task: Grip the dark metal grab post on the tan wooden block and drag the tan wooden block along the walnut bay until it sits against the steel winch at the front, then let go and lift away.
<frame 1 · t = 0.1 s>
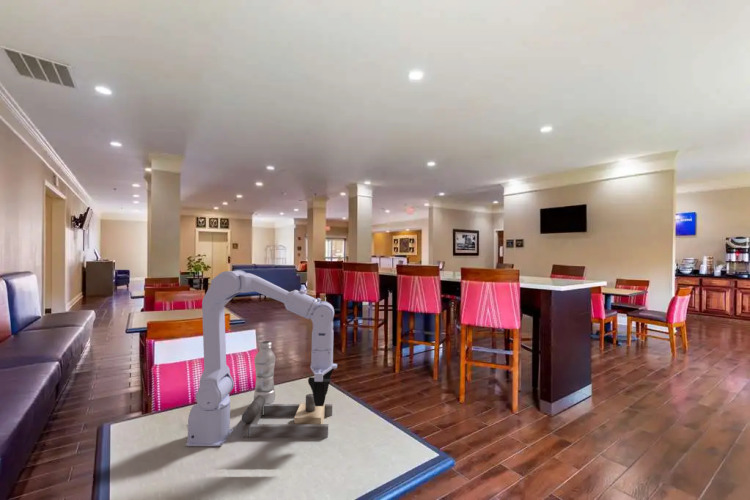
hand: (321, 399, 92), 10 cm above the table, tool pointing down, fingers open, 7 cm apart
bay: (291, 429, 96), on the table
plastic bottle: (264, 405, 112), on the table
tan wooden block: (310, 410, 97), point 5 cm above the table, slide at 11.0 cm
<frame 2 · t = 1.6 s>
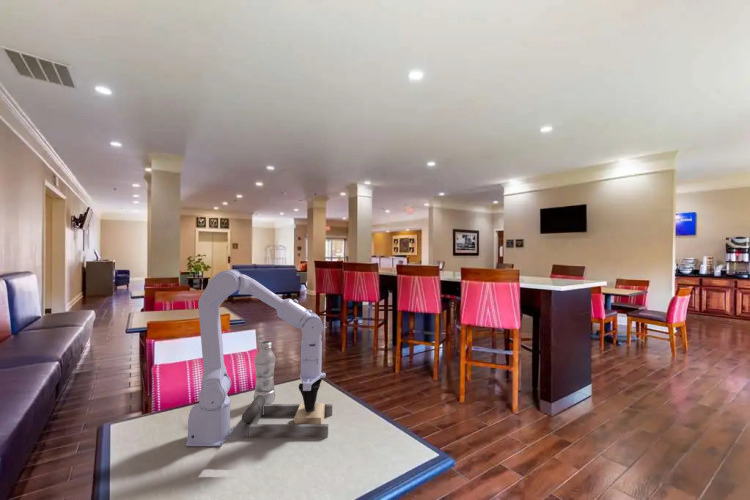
hand: (310, 407, 97), 6 cm above the table, tool pointing down, fingers closed on tan wooden block, 3 cm apart
tan wooden block: (310, 410, 97), point 5 cm above the table, slide at 11.0 cm, touching gripper
everything else where it was.
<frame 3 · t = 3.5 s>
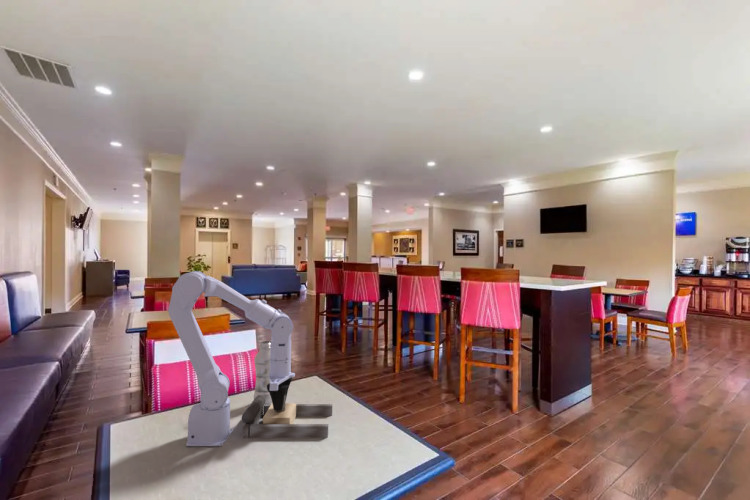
hand: (279, 407, 96), 6 cm above the table, tool pointing down, fingers closed on tan wooden block, 3 cm apart
tan wooden block: (280, 410, 96), point 5 cm above the table, slide at 2.8 cm, touching gripper
everything else where it was.
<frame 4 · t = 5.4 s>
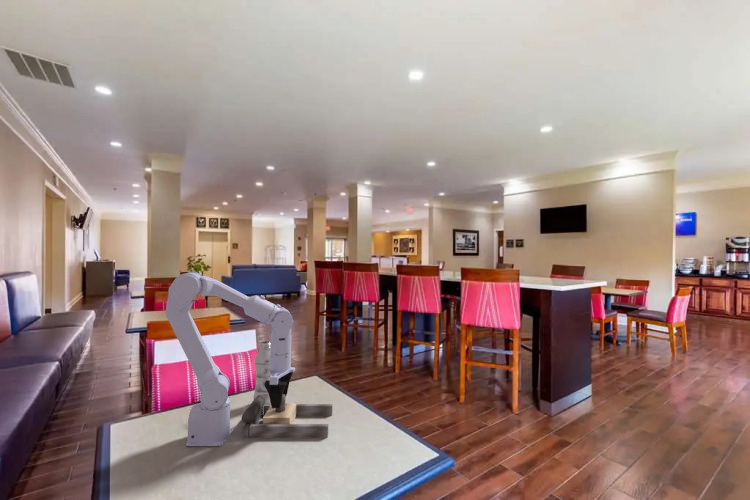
hand: (279, 401, 96), 8 cm above the table, tool pointing down, fingers open, 7 cm apart
tan wooden block: (280, 410, 96), point 5 cm above the table, slide at 2.8 cm
everything else where it was.
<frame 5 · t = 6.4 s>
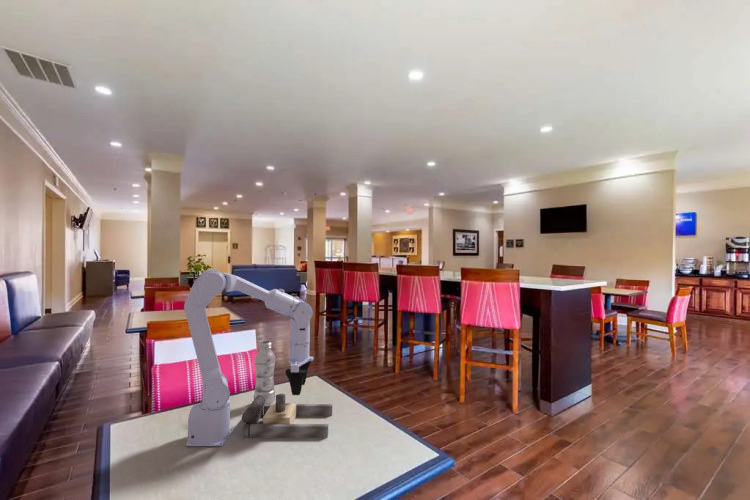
hand: (298, 389, 101), 9 cm above the table, tool pointing down, fingers open, 7 cm apart
nothing on the table moved.
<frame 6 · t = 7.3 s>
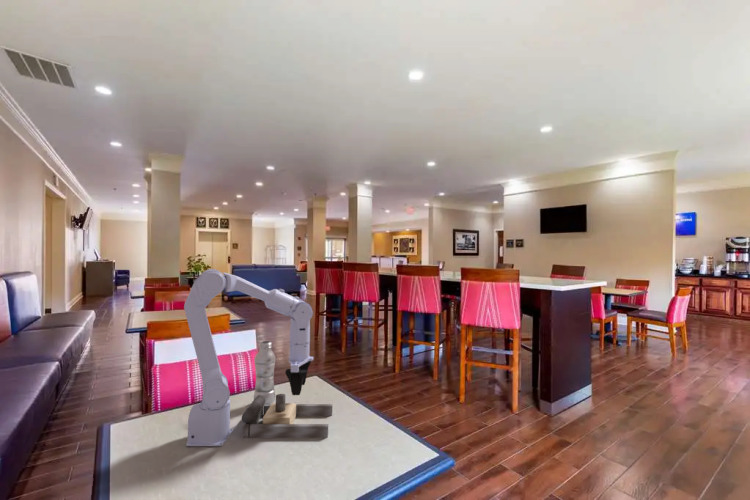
hand: (298, 389, 101), 9 cm above the table, tool pointing down, fingers open, 7 cm apart
nothing on the table moved.
at the end: tan wooden block slide at 2.8 cm; the gripper is holding nothing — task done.
